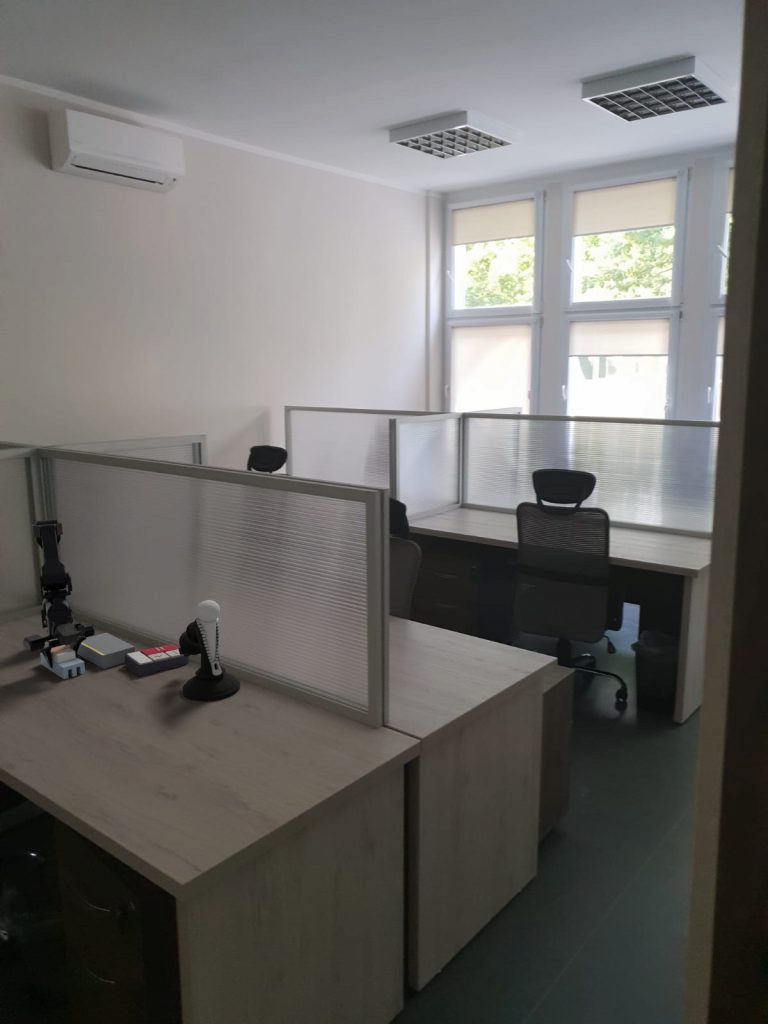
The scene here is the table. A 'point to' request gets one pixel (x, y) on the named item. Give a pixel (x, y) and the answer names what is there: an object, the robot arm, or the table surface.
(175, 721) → the table surface
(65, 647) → the salmon brown block
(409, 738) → the table surface
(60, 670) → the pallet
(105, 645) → the dock
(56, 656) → the off-white block
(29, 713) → the table surface
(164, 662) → the grey red white box
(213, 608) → the sculpture
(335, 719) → the table surface
